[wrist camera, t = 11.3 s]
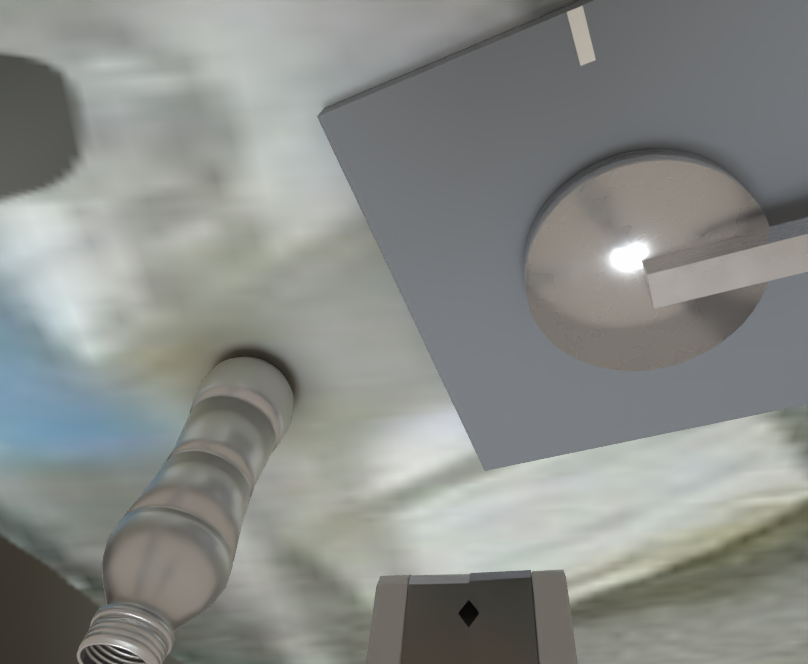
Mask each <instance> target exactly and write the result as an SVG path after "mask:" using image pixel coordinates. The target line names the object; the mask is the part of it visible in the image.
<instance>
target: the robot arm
mask: <svg viewBox="0 0 808 664" xmlns="http://www.w3.org/2000/svg"><path fill="white" fill-rule="evenodd" d="M532 582H533V583H532ZM366 664H578V662H577V655H576V648H575V640H574V633H573V626H572V618H571V611H570V604H569V596H568V589H567V582H566V576H565V573H564V570H546V571H532V575H531V570H525V571H505V572H486V573H470V574H448V575H394V576H380V579H379V581H378V584H377V587H376V594H375V601H374V608H373V615H372V622H371V629H370V637H369V644H368V651H367V658H366Z"/></svg>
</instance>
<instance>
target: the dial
mask: <svg viewBox="0 0 808 664" xmlns="http://www.w3.org/2000/svg"><path fill="white" fill-rule="evenodd" d="M805 272H808V217H805V218H802V219H798V220H794V221H790V222H786V223H782V224H779V225H775V226H771V227H769V224H768V221H767V218H766V216H765V214H764V213H763V211H762V209H761V207H760V206H759V204H758V203H757V202H756V201H755V199H754V198H753V197H752V196H751V195H750V193H749V192H748V191H747V190H746V189H745V188H744V187H743V186H742V185H741V183H740V182H739V181H738V180H737V179H736V178H735V177H734V176H733V175H732V174H730V173H729V172H728V171H727V170H726V169H724V168H723V167H721V166H720V165H718V164H716V163H715V162H713V161H711V160H709V159H706V158H704V157H702V156H699V155H697V154H693V153H689V152H685V151H681V150H673V149H643V150H635V151H629V152H625V153H621V154H617V155H614V156H611V157H609V158H606V159H603V160H601V161H598V162H597V163H595V164H593V165H591V166H589V167H587V168H585V169H583V170H582V171H580V172H579V173H577V174H576V175H574V176H573V177H571V178H570V179H569V180H568V181H567V182H565V183H564V184H563V185H562V186H561V187H559V188H558V189H557V190H556V192H555V193H554V194H553V195H552V196H551V197H550V198H549V199H548V200H547V202H546V203H545V205H544V206H543V207H542V209H541V210H540V212H539V213H538V215H537V217H536V219H535V221H534V223H533V224H532V227H531V230H530V232H529V235H528V238H527V242H526V247H525V251H524V276H525V287H526V296H527V300H528V304H529V308H530V310H531V313H532V315H533V318H534V320H535V321H536V323H537V325H538V326H539V328H540V329H541V331H542V332H543V333H544V334H545V336H546V337H547V338H548V339H549V340H550V341H551V342H552V343H553V344H554V345H555V346H557V347H558V348H559V349H561V350H562V351H564V352H565V353H566V354H568V355H570V356H572V357H574V358H575V359H577V360H579V361H582V362H584V363H587V364H590V365H593V366H596V367H600V368H604V369H611V370H618V371H646V370H654V369H660V368H665V367H669V366H672V365H676V364H679V363H682V362H685V361H688V360H690V359H693V358H695V357H697V356H699V355H701V354H703V353H705V352H707V351H709V350H710V349H712V348H714V347H715V346H717V345H718V344H720V343H721V342H723V341H724V340H725V339H726V338H728V337H729V336H730V335H732V334H733V333H734V332H735V331H736V330H737V329H738V328H739V327H740V326H741V325H742V324H743V323H744V322H745V321H746V319H747V318H748V317H749V316H750V315H751V313H752V312H753V311H754V309H755V308H756V306H757V304H758V303H759V301H760V300H761V298H762V296H763V293H764V291H765V289H766V287H767V284H768V281H771V280H775V279H780V278H784V277H788V276H792V275H796V274H800V273H805Z"/></svg>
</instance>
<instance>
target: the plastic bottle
mask: <svg viewBox="0 0 808 664" xmlns="http://www.w3.org/2000/svg"><path fill="white" fill-rule="evenodd" d="M293 405H294V398H293V393H292V390H291V387H290V385H289V383H288V382H287V380H286V378H285V377H284V375H283V374H282V373H281V372H280V371H279V370H278V369H277V368H276V367H275V366H273V365H272V364H270V363H268V362H267V361H264V360H262V359H259V358H254V357H236V358H230V359H227V360H225V361H222V362H221V363H219V364H217V365H216V366H215V367H214V368H213V369H212V370H211V371H210V372H209V374H208V375H207V376H206V377H205V378H204V379H203V380H202V381H201V383H200V385H199V387H198V389H197V392H196V394H195V397H194V399H193V403H192V407H191V410H190V415H189V417H188V419H187V421H186V424H185V426H184V428H183V430H182V432H181V435H180V437H179V439H178V441H177V443H176V445H175V448H174V449H173V451H172V452H171V454H170V455H169V457H168V459H167V460H166V462H165V463H164V464H163V466H162V467H161V469H160V470H159V472H158V473H157V475H156V476H155V478H154V479H153V481H152V482H151V484H150V485H149V486H148V487H147V488H146V490H145V491H144V492H143V493H142V494H141V496H140V497H139V498H138V499H137V501H136V502H135V503H134V504H133V505H132V507H131V508H130V509H129V510H128V512H127V513H126V514H125V515H124V517H123V518H122V519H121V520H120V521H119V523H118V524H117V526H116V527H115V529H114V530H113V531H112V533H111V534H110V536H109V538H108V540H107V543H106V547H105V551H104V555H103V561H102V572H103V585H104V591H105V597H106V602H107V605H105V606H103V607H101V608H100V609H98V611H97V612H96V614H95V616H94V617H93V619H92V621H91V624H90V629H89V631H88V633H87V634H86V636H85V638H84V640H83V641H82V643H81V645H80V646H79V650H78V652H77V660H78V662H79V663H80V664H163V661H164V659H165V657H166V656H167V655H168V654H169V653H170V651H171V649H172V646H173V644H174V641H175V635H174V632H173V631H175V630H176V629H178V628H180V627H182V626H183V625H185V624H187V623H188V622H190V621H192V620H193V619H194V618H196V617H197V616H199V615H200V614H201V613H203V612H204V611H205V610H207V609H208V608H209V607H211V606H212V604H213V603H214V602H215V601H216V599H217V598H218V597H219V595H220V594H221V593H222V591H223V590H224V589H225V587H226V585H227V582H228V579H229V575H230V572H231V569H232V566H233V561H234V557H235V553H236V548H237V544H238V539H239V535H240V531H241V526H242V522H243V519H244V516H245V513H246V510H247V507H248V504H249V501H250V498H251V495H252V492H253V489H254V486H255V484H256V482H257V480H258V478H259V476H260V475H261V473H262V471H263V469H264V467H265V465H266V463H267V461H268V459H269V457H270V455H271V454H272V452H273V451H274V450H275V448H276V447H277V446H278V444H279V443H280V441H281V440H282V438H283V437H284V435H285V433H286V432H287V430H288V428H289V426H290V423H291V419H292V412H293Z"/></svg>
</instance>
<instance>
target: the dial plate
mask: <svg viewBox="0 0 808 664" xmlns="http://www.w3.org/2000/svg"><path fill="white" fill-rule="evenodd" d="M317 117H318V119H319V121H320V123H321V125H322V128H323V130H324V132H325V134H326V136H327V138H328V140H329V142H330V144H331V147H332V149H333V151H334V153H335V155H336V157H337V159H338V161H339V163H340V166H341V168H342V170H343V172H344V174H345V176H346V178H347V180H348V183H349V185H350V187H351V189H352V191H353V193H354V195H355V197H356V199H357V202H358V204H359V206H360V208H361V210H362V212H363V214H364V216H365V218H366V221H367V223H368V225H369V227H370V229H371V231H372V233H373V235H374V237H375V240H376V242H377V244H378V246H379V248H380V250H381V252H382V254H383V257H384V259H385V261H386V263H387V265H388V267H389V269H390V271H391V273H392V276H393V278H394V280H395V282H396V284H397V286H398V288H399V290H400V292H401V295H402V297H403V299H404V301H405V303H406V305H407V307H408V309H409V311H410V314H411V316H412V318H413V320H414V322H415V324H416V326H417V328H418V331H419V333H420V335H421V337H422V339H423V341H424V343H425V345H426V347H427V350H428V352H429V354H430V356H431V358H432V360H433V362H434V364H435V366H436V369H437V371H438V373H439V375H440V377H441V379H442V381H443V383H444V385H445V388H446V390H447V392H448V394H449V396H450V398H451V400H452V402H453V405H454V407H455V409H456V411H457V413H458V415H459V417H460V419H461V421H462V424H463V426H464V428H465V430H466V432H467V434H468V436H469V438H470V440H471V443H472V445H473V447H474V449H475V451H476V453H477V455H478V457H479V460H480V462H481V464H482V466H483V468H484V470H485V471H486V470H491V469H496V468H501V467H506V466H510V465H515V464H520V463H525V462H530V461H535V460H539V459H544V458H549V457H554V456H559V455H564V454H568V453H573V452H578V451H583V450H588V449H593V448H598V447H602V446H607V445H612V444H617V443H622V442H627V441H631V440H636V439H641V438H646V437H651V436H656V435H660V434H665V433H670V432H675V431H680V430H685V429H689V428H694V427H699V426H704V425H709V424H714V423H718V422H723V421H728V420H733V419H738V418H743V417H748V416H752V415H757V414H762V413H767V412H772V411H777V410H781V409H786V408H791V407H796V406H801V405H806V404H808V272H805V273H800V274H796V275H792V276H788V277H784V278H780V279H775V280H771V281H768V284H767V287H766V289H765V291H764V293H763V296H762V298H761V300H760V301H759V303H758V304H757V306H756V308H755V309H754V311H753V312H752V313H751V315H750V316H749V317H748V318H747V319H746V321H745V322H744V323H743V324H742V325H741V326H740V327H739V328H738V329H737V330H736V331H735V332H734V333H733V334H732V335H730V336H729V337H728V338H726V339H725V340H724V341H723V342H721V343H720V344H718V345H717V346H715V347H714V348H712V349H710V350H709V351H707V352H705V353H703V354H701V355H699V356H697V357H695V358H693V359H690V360H688V361H685V362H682V363H679V364H676V365H672V366H669V367H665V368H660V369H654V370H646V371H618V370H611V369H604V368H600V367H596V366H593V365H590V364H587V363H584V362H582V361H579V360H577V359H575V358H574V357H572V356H570V355H568V354H566V353H565V352H564V351H562V350H561V349H559V348H558V347H557V346H555V345H554V344H553V343H552V342H551V341H550V340H549V339H548V338H547V337H546V336H545V334H544V333H543V332H542V331H541V329H540V328H539V326H538V325H537V323H536V321H535V320H534V318H533V315H532V313H531V310H530V308H529V304H528V300H527V296H526V287H525V276H524V251H525V247H526V242H527V238H528V235H529V232H530V230H531V227H532V224H533V223H534V221H535V219H536V217H537V215H538V213H539V212H540V210H541V209H542V207H543V206H544V205H545V203H546V202H547V200H548V199H549V198H550V197H551V196H552V195H553V194H554V193H555V192H556V190H557V189H558V188H559V187H561V186H562V185H563V184H564V183H565V182H567V181H568V180H569V179H570V178H571V177H573V176H574V175H576V174H577V173H579V172H580V171H582V170H583V169H585V168H587V167H589V166H591V165H593V164H595V163H597V162H598V161H601V160H603V159H606V158H609V157H611V156H614V155H617V154H621V153H625V152H629V151H635V150H643V149H673V150H681V151H685V152H689V153H693V154H697V155H699V156H702V157H704V158H706V159H709V160H711V161H713V162H715V163H716V164H718V165H720V166H721V167H723V168H724V169H726V170H727V171H728V172H729V173H730V174H732V175H733V176H734V177H735V178H736V179H737V180H738V181H739V182H740V183H741V185H742V186H743V187H744V188H745V189H746V190H747V191H748V192H749V193H750V195H751V196H752V197H753V198H754V199H755V201H756V202H757V203H758V204H759V206H760V207H761V209H762V211H763V213H764V214H765V216H766V218H767V221H768V224H769V227H771V226H775V225H779V224H782V223H786V222H790V221H794V220H798V219H802V218H805V217H808V0H580V1H578V2H575V3H573V4H571V5H568V6H566V7H564V8H561V9H559V10H556V11H554V12H552V13H549V14H547V15H545V16H542V17H540V18H537V19H535V20H533V21H530V22H528V23H526V24H523V25H521V26H519V27H516V28H514V29H511V30H509V31H507V32H504V33H502V34H500V35H497V36H495V37H493V38H490V39H488V40H485V41H483V42H481V43H478V44H476V45H474V46H471V47H469V48H466V49H464V50H462V51H459V52H457V53H455V54H452V55H450V56H448V57H445V58H443V59H440V60H438V61H436V62H433V63H431V64H429V65H426V66H424V67H422V68H419V69H417V70H414V71H412V72H410V73H407V74H405V75H403V76H400V77H398V78H395V79H393V80H391V81H388V82H386V83H384V84H381V85H379V86H377V87H374V88H372V89H369V90H367V91H365V92H362V93H360V94H358V95H355V96H353V97H351V98H348V99H346V100H343V101H341V102H339V103H336V104H334V105H332V106H329V107H327V108H324V109H323V110H322V112H321V113H320V114H319V115H318V116H317Z"/></svg>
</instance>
